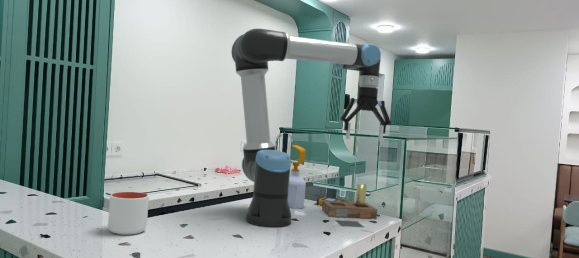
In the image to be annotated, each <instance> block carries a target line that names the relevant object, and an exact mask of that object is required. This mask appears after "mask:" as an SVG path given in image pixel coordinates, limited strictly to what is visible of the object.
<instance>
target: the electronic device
mask: <svg viewBox="0 0 579 258" xmlns="http://www.w3.org/2000/svg"><path fill="white" fill-rule="evenodd" d="M323 201H341V202H351V201H350V200H345V199H343V200H342V199H337V198H331V197H326V196H321V197H318V198H317V199H316V206H318V205H320V207H322V205H323Z"/></svg>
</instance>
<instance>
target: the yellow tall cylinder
mask: <svg viewBox="0 0 579 258" xmlns="http://www.w3.org/2000/svg"><path fill="white" fill-rule="evenodd" d="M366 194H367V184H364V183H363V184H362V183H357V184H356V195H355V202H356V204H355V206H356V207H365V203H366V198H367V196H366Z"/></svg>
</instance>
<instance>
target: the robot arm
mask: <svg viewBox="0 0 579 258" xmlns="http://www.w3.org/2000/svg"><path fill="white" fill-rule="evenodd" d="M231 46H232V47H231V58H232V60H233V62H234V63H235V64H234V65H235V72H236V74H237V75H238V76H239V77H240V82H241V83H240V84H241V92H242V93H241V94H242V103H243V104H242V105H243V106H242V107H243V114H244V115H243V116H244V128H245V136H246V137H245V138H246V143H245V145H244V146H243V147H242V150H243V158H242V161H241V169H242V172H243V174H244V175H245V177H246V178H247V179H248V180H250V181H251V182H253V194H252V198H251V201H250V204H249V207H248V208H247V211H246V216H245V221H246V222H248V223H250V224H252V225H256V226H261V227H271V228H273V227H275V228H276V227H279V228H280V227H286V226H289V225H291V223H292V212H291V208H289V203H288V189H289V178H290V175H291V168H292V167H291V166H292V163H291V162H292V161H291V160H292V159H291V156H290V155H289V153H287V152H284V151H279V150H276V145H275V143H273V142H272V140H271V135H270V134H271V133H270V122H269V121H270V120H269V111H268V110H269V108H268V101H267V100H268V98H267V88H266V85H267V84H266V77H265V76H266V74H267V73H268V71H269V62H275V61H276V62H284V61H285V60H298V61H307V62H308V61H309V62H317V63H318V62H319V63H327V64H328V63H329V64H333V67H334V68H336V69H340V70H348V71H356V72H359V81H358V82H359V83H358V86H359V87H358V92H357V99H356V98H355V97H351V98H350V99H349V102H348V105H347V107H346V108H345V110H344V112H343V113H342V115H341V117H340V118H339V119H340V121H342V122H343V123H344V126H343V127H344V128H343V130H344V131H345V140H350V137H351V135H350V134H351V126H352V125H351V120H352V119H353V118H354V117H355V116H356V115H357V114H358V113H359V112H360V111H366V112H372V113H373V115H375V117H376V118H377V120H378V122H379V123H380V125H379V127H378V138H377V139H378V140H377V141H378V142H380V143H382V142H383V140H384V137H383V136H384V134H386V131H387V130H386V127H387V125H388V126H389V125H391V123H392V122H391V120H390V116H389V113H388V111H387V109H386V105H385V100H378V92H379V89H378V88H379V82H380V81H379V80H380V79H379V78H380V69H381V58H382V57H381V56H382V53H381V49H380V47H379V46H378V45H376V44H374V43H366V44H359V43H350V42H342V41H333V40H325V39H318V38H310V37H302V36H292V35H289V34H288V33H287V32H286V31H278V30H273V29H265V28H251V29H249V30H247V31H245V33H244V34H241V35H239V36H238V37H236V39H235V41H234V42H233V44H232V45H231ZM355 104H357V105H358V106H356V108H355V109H354V110H353V111H352V112H351V113H350V111H351V110H352V108H353V106H354V105H355ZM376 106H378V107H379V108H380V112H379V110H378V108H377V107H376ZM381 113H382V115H381ZM348 114H349V115H348Z"/></svg>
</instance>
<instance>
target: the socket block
mask: <svg viewBox="0 0 579 258" xmlns="http://www.w3.org/2000/svg"><path fill="white" fill-rule="evenodd" d="M355 204H356V201H350V202H341V201H323V205H322V206H321V209H322V211H323V212H324V213H325V214H326V216H328V217H329V218H348V219H349V218H350V219H366V220H367V219H368V220H369V219H370V220H377V217H378V209H377V208H376V207H374V206H372V205H371V204H370V203H368V202H365V207H356V206H355Z"/></svg>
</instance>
